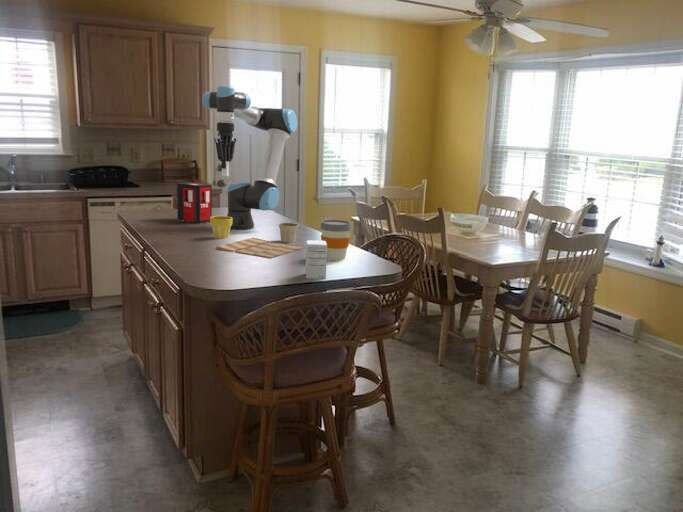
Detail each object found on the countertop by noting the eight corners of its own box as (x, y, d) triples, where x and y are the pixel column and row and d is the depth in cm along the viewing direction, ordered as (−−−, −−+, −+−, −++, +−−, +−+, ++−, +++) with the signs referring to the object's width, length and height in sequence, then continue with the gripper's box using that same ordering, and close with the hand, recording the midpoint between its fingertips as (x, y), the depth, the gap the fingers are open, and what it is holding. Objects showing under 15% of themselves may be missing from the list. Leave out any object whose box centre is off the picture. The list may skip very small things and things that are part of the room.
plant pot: (237, 238, 277) (237, 218, 275) (218, 241, 269) (218, 220, 267) (223, 235, 284) (223, 215, 282) (205, 237, 276) (205, 216, 274)
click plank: (253, 240, 272) (253, 237, 271) (269, 243, 268) (269, 241, 268) (216, 249, 249) (216, 246, 249) (233, 253, 245) (233, 250, 245)
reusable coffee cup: (339, 262, 238) (340, 226, 234) (313, 258, 244) (314, 222, 241) (355, 257, 248) (356, 222, 245) (330, 253, 254) (331, 218, 251)
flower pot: (301, 242, 275) (302, 223, 274) (293, 245, 267) (293, 226, 265) (283, 240, 278) (283, 222, 276) (274, 243, 270) (274, 224, 268)
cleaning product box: (177, 220, 320) (176, 183, 315) (189, 218, 327) (189, 182, 323) (199, 224, 311) (199, 186, 307) (211, 222, 319) (211, 185, 314)
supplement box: (305, 273, 218) (306, 239, 216) (325, 273, 219) (326, 240, 216) (305, 278, 211) (306, 243, 208) (326, 279, 212) (327, 244, 209)
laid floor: (269, 244, 268) (269, 241, 267) (304, 249, 259) (304, 246, 259) (234, 253, 245) (234, 251, 245) (271, 260, 237) (271, 257, 237)
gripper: (222, 122, 254) (222, 177, 259) (241, 122, 265) (241, 175, 271) (209, 121, 258) (209, 176, 263) (228, 122, 269) (227, 174, 274)
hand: (225, 175), depth 267 cm, fingers closed
